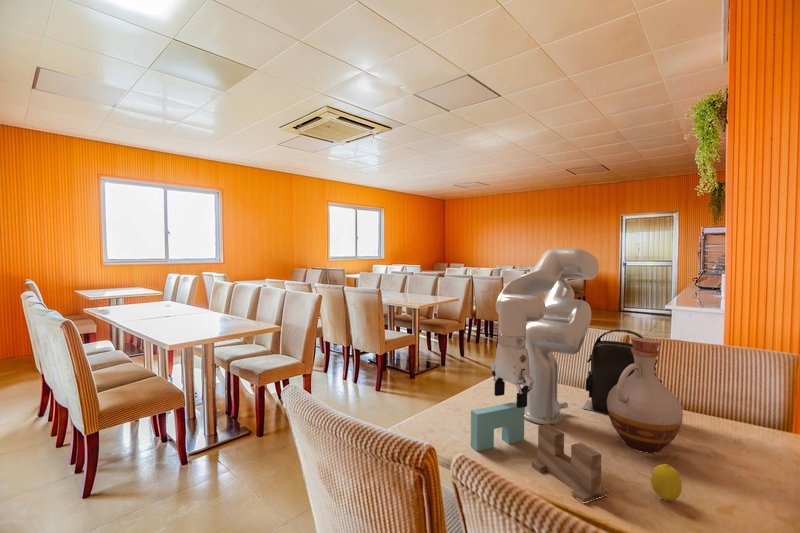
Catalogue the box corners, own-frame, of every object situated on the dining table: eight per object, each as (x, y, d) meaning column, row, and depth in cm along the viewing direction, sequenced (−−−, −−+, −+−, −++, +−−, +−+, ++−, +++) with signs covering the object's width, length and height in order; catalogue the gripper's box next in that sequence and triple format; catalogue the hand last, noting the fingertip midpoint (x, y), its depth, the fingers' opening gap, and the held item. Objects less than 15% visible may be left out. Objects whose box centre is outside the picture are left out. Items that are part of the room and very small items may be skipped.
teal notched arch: (517, 435, 115) (517, 401, 115) (524, 440, 113) (524, 405, 112) (470, 446, 109) (471, 410, 109) (476, 451, 106) (477, 414, 106)
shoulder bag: (662, 416, 129) (665, 331, 127) (661, 426, 121) (663, 336, 120) (587, 400, 142) (589, 323, 141) (582, 409, 135) (583, 327, 133)
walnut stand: (552, 460, 102) (553, 422, 101) (607, 496, 87) (608, 451, 87) (531, 466, 99) (532, 427, 99) (583, 504, 84) (584, 458, 84)
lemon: (644, 493, 88) (645, 458, 88) (667, 491, 89) (668, 457, 88) (663, 509, 83) (664, 472, 82) (687, 507, 83) (689, 470, 83)
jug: (649, 471, 97) (653, 350, 95) (587, 439, 113) (589, 336, 111) (696, 454, 105) (700, 342, 104) (632, 426, 121) (634, 330, 120)
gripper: (544, 346, 105) (542, 410, 105) (503, 334, 121) (501, 389, 121) (521, 348, 102) (520, 414, 102) (482, 335, 118) (481, 392, 118)
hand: (510, 401), depth 112 cm, fingers open, 9 cm apart
